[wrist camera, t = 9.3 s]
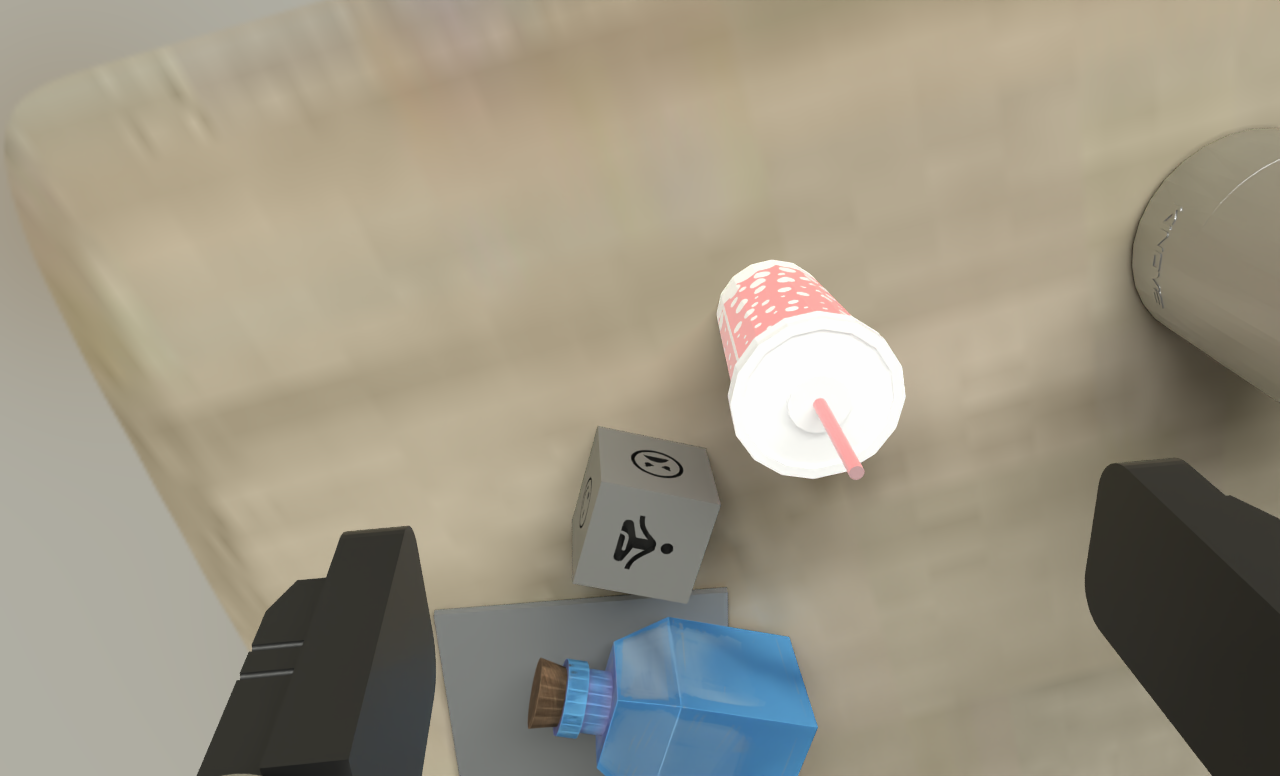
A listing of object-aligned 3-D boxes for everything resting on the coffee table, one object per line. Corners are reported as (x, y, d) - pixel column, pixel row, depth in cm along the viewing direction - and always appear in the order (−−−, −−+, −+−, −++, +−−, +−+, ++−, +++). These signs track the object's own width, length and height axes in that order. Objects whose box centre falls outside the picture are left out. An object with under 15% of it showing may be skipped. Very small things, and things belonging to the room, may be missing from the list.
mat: (726, 587, 49) (727, 592, 48) (728, 801, 55) (730, 806, 54) (434, 610, 48) (433, 615, 48) (468, 823, 54) (468, 829, 54)
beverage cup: (804, 395, 45) (899, 580, 32) (676, 351, 43) (723, 527, 31) (865, 270, 42) (994, 416, 30) (733, 221, 41) (808, 351, 28)
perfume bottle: (775, 829, 46) (518, 795, 45) (752, 732, 52) (523, 698, 50) (817, 727, 44) (548, 686, 42) (789, 636, 50) (549, 597, 48)
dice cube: (597, 425, 45) (601, 481, 40) (705, 447, 46) (720, 504, 41) (571, 519, 47) (572, 583, 42) (675, 539, 47) (687, 604, 43)
